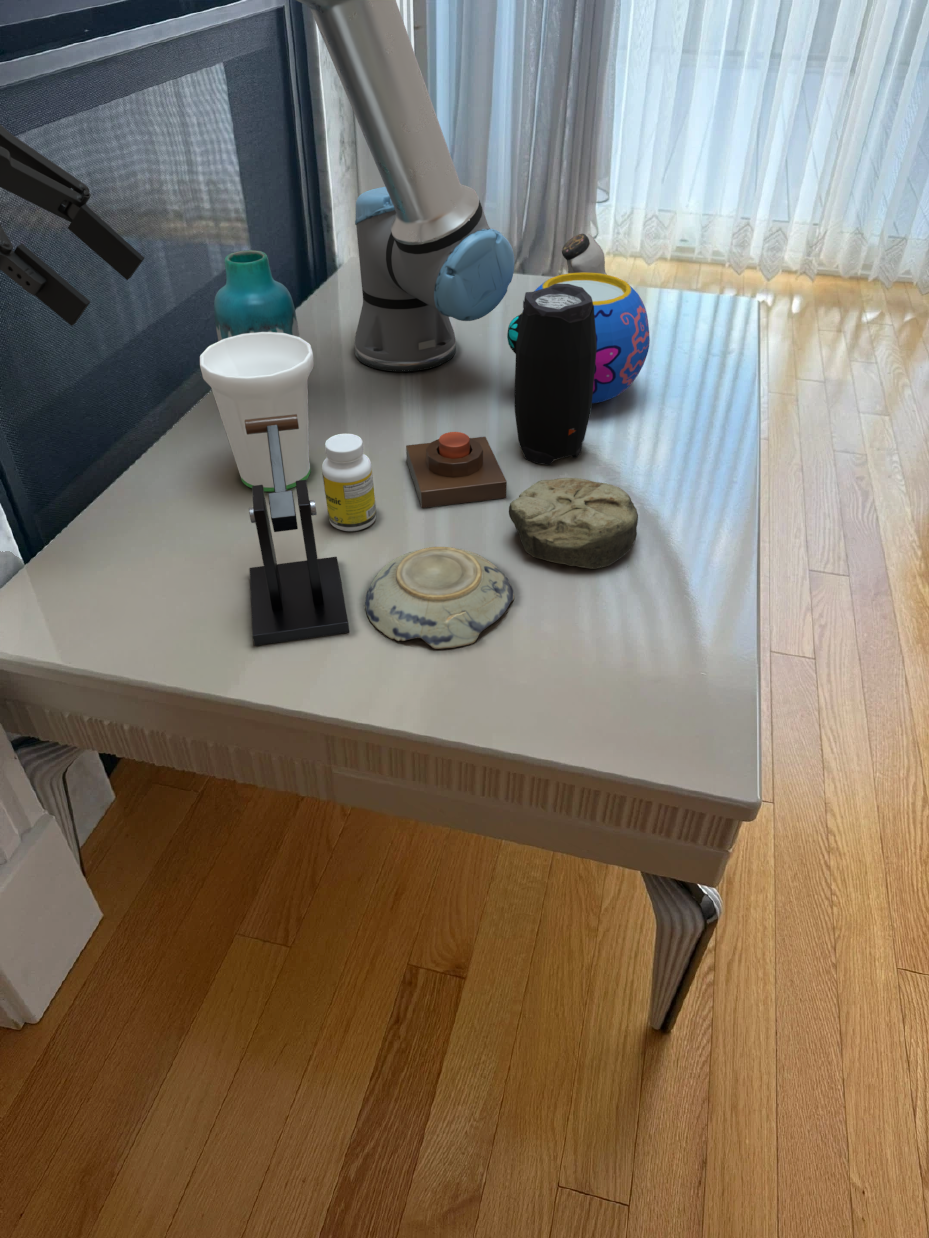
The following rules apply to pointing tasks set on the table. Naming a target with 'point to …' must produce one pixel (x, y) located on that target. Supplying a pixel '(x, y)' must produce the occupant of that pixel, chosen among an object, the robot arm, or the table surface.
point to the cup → (262, 400)
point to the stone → (575, 522)
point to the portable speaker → (554, 372)
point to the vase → (252, 299)
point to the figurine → (584, 255)
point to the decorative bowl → (438, 597)
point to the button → (454, 445)
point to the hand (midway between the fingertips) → (110, 290)
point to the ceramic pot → (608, 330)
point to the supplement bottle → (348, 483)
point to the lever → (277, 468)
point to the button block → (455, 474)
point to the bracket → (294, 583)
